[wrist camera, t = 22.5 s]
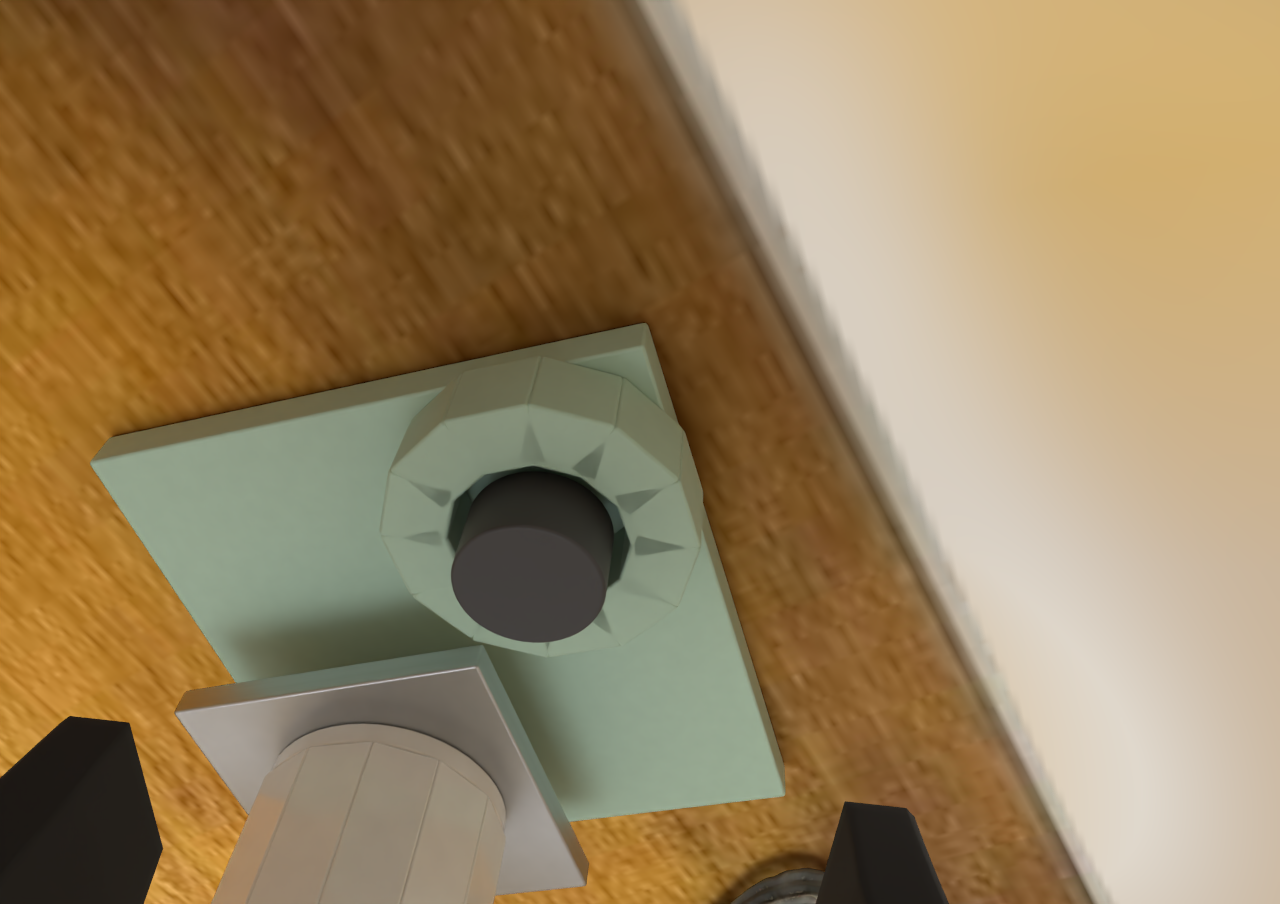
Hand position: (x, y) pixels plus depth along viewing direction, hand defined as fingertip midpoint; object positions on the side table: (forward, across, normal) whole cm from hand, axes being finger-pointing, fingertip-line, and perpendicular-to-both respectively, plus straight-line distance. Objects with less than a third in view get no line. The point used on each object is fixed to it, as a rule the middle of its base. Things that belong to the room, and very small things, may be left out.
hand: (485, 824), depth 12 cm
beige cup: (+7, +3, +10) cm, 13 cm away
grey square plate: (+8, +3, +10) cm, 13 cm away
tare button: (+8, 0, +3) cm, 9 cm away
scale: (+10, +2, +7) cm, 13 cm away
